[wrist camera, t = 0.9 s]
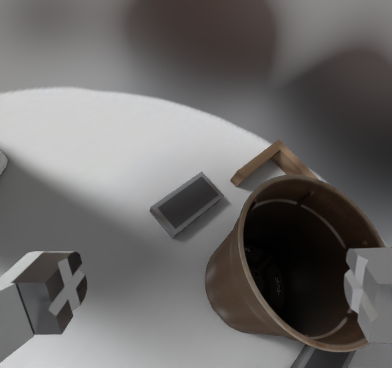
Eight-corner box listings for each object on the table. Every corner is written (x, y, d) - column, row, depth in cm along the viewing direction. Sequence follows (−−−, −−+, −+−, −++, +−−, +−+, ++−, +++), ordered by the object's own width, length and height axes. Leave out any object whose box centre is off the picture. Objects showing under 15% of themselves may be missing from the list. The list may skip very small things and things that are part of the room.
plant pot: (180, 229, 41) (221, 173, 28) (278, 223, 47) (352, 173, 33) (200, 362, 34) (268, 373, 21) (312, 336, 40) (424, 331, 26)
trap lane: (149, 211, 41) (153, 202, 39) (256, 135, 55) (264, 125, 52) (315, 409, 36) (332, 413, 33) (390, 271, 49) (407, 267, 46)
